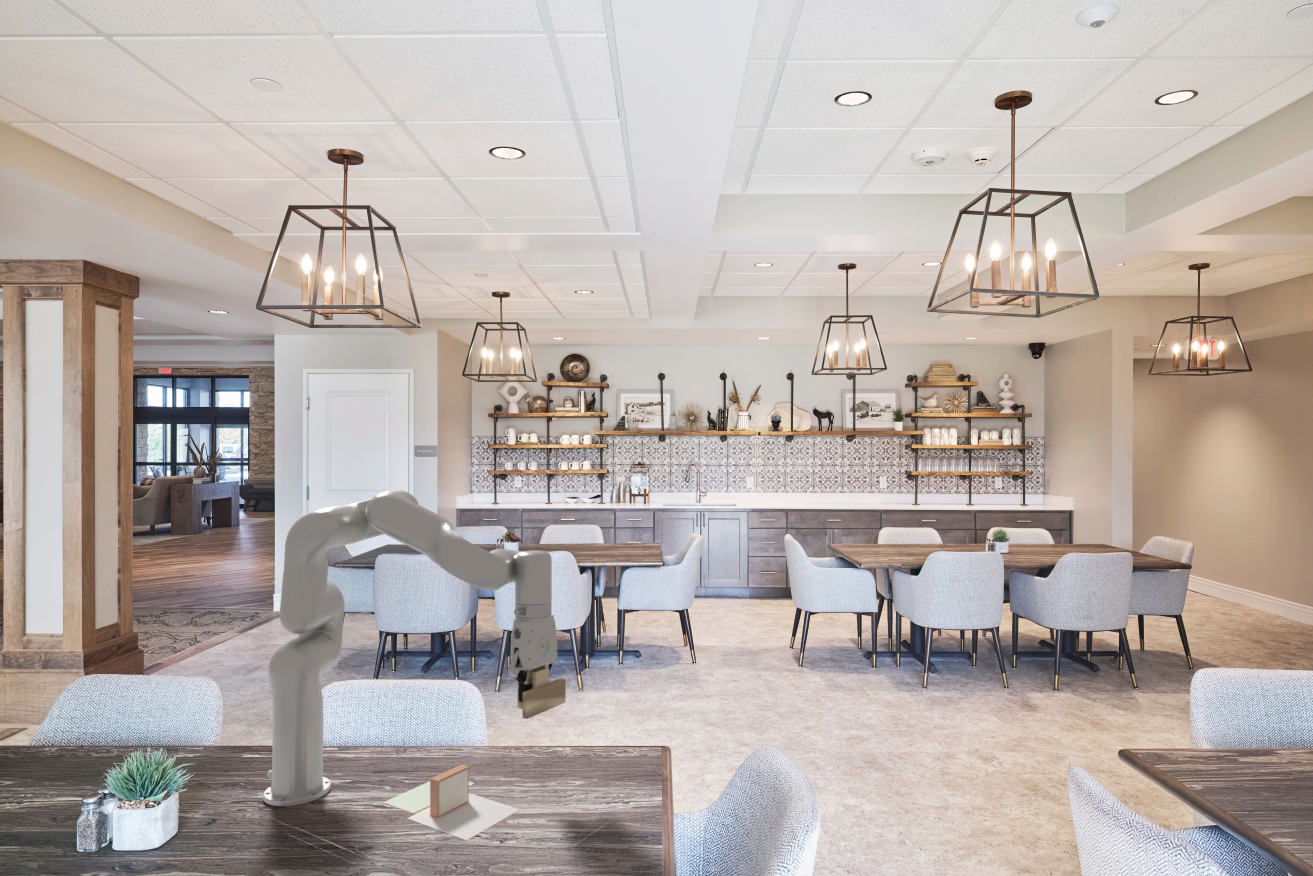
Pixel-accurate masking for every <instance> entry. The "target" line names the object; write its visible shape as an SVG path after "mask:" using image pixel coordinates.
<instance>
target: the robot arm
mask: <svg viewBox="0 0 1313 876" xmlns="http://www.w3.org/2000/svg"><path fill="white" fill-rule="evenodd" d="M382 535H383V536H384V535H386V536H387V537H390V538H391V539H394V540H395V541H397V542H399V543H401V544H403V545H405V546H407V547H408V548H411V549H413V550H415V551H417V552H419V553H420V554H422V555H425V556H426V557H428V558H429V559H430V560H431V562H433V563H434V564H436V565H438V567H440V568H441V569H442V570H444V571H445V572H446V573H448V574H450V575H451V576H453V577H455V578H457V579H458V580H461V581H463V582H465V583H467V584H468V585H471V586H473V587H475V588H476V589H479V590H482V591H487V592H493V591H494V592H495V591H497V590H500V589H501V588H503V587H504V586H506V585H509V584H510V583H514V585H515V586H514V587H515V588H514V589H515V590H514V591H515V592H514V594H515V595H514V598H515V599H514V611H513V613H514V619H513V623H512V630H511V637H510V655H509V656H510V665H509V667H508V669H507V674H509V675H510V676H512V677H513V678H514V679H515V680H516V683H517V684H518V683H519V702H523V692H525V691H528V690H531V689H532V684H531V683H530V678H531V671H532V670H533V669H536V668H539V667H546V668H549V675H550V674H551V673H550V671H551V669H552V667H553V665H554V664H555V662H556V660H557V659H558V637H557V636H558V635H557V625H556V622H555V621H556V620H555V616H554V614H553V613H552V609H553V608H552V598H553V597H552V595H553V594H552V582H553V581H552V577H553V574H552V573H553V572H552V569H553V568H552V567H553V566H552V564H553V563H552V562H553V561H552V555H551V554H550V553H549V552H548V551H545V550H541V549H540V550H539V549H537V550H535V549H533V550H524V551H521V550H514V549H513V550H512V549H506V548H505V549H504V548H497V549H493V550H490V551H488V550H486V549H483V548H481V547H480V546H477V545H476V544H474V543H472V542H471V541H469V540H467V539H465V538H464V537H462V535H460V534H459V533H458V532H457V531H456V529H455V528H454V525H453V524H452V522H451V521H450V520H449V519H448V518H445V517H444V516H443V515H440V514H438V513H435V512H433V511H432V510H430V509H428V508H426V507H424V506H422V505H420V504H419V502H418V500H417V499H416V497H415V496H414V495H413V494H411V493H409V492H408V491H405V490H388V491H383V492H379V493H378V494H376V495H375V496H373V497H372V498H369V499H366V500H362V501H358V502H353V503H350V504H344V505H334V506H328V507H323V508H320V509H316V510H314V511H311V512H309V513H307V514H305V515H303V516H301V517H300V518H299V519H297V520H296V521H295V522H294V523H293V524H292V526H291V527H290V529H289V531H288V532H287V536H286V538H285V544H284V559H283V560H284V561H283V562H284V563H283V573H282V583H281V594H280V596H281V597H280V606H279V619H280V624H281V625H282V628H283V629H285V630H286V631H287V632H289V633H291V634H297V635H298V636H297V637H296V638H294V639H291V640H290V641H287V642H285V643H284V644H282V645H281V646H280V647H279V648H278V649H277V650H276V651H275V652H274V653H273V655H272V656H271V658H270V660H269V664H268V679H269V685H270V691H271V698H272V699H271V700H272V701H271V703H272V707H271V708H272V709H271V710H272V719H271V720H272V746H271V747H272V749H271V750H272V751H271V752H272V753H271V755H272V758H271V759H272V762H271V763H272V765H271V768H272V769H269V770H268V771H267V772H266V777H268V778H270V779H271V781H270V782H271V783H270V784H271V785H270V786H268V788H266V789H265V791H264V792H263V794H262V795H263V796H262V797H263V798H262V800H263V801H264V803H265V804H268V805H269V806H274V807H292V806H300V805H304V804H308V803H311V802H314V801H316V800H318V799H320V798H322V797H324V796H325V795H327V794H328V793H329V792H330V791H331V789H332V788H331V787H332V781H331V779H330V778H328V777H326V776H324V696H323V693H322V689H321V688H322V687H321V683H320V677H322V675H324V674H326V673H327V672H329V671H330V670H331V669H333V667H334V666H335V665H336V664H337V662H338V661H339V658H340V656H341V651H342V646H343V645H342V643H343V633H344V631H343V630H344V619H345V598H344V594H343V593H342V591H341V589H340V588H339V587H338V586H337V585H336V584H334V583H333V582H331V581H328V577H329V576H328V575H329V560H328V557H327V556H328V555H327V552H328V551H329V550H330V549H334V548H338V547H339V548H340V547H342V546H343V547H344V546H347V545H350V544H355V543H358V542H361V541H362V542H363V541H365V540H368V539H372V538H376V537H379V536H382ZM523 671H526V672H525V675H524V674H523Z"/></svg>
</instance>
